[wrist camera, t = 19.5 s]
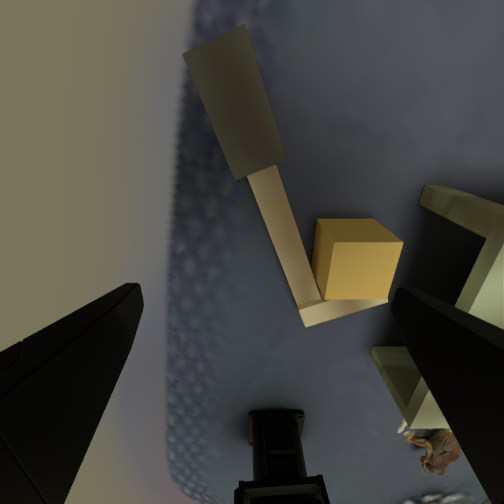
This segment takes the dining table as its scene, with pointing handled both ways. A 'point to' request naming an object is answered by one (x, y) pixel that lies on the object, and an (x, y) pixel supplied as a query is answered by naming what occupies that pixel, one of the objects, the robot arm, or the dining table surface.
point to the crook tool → (259, 158)
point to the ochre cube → (354, 258)
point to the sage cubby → (470, 300)
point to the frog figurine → (434, 447)
